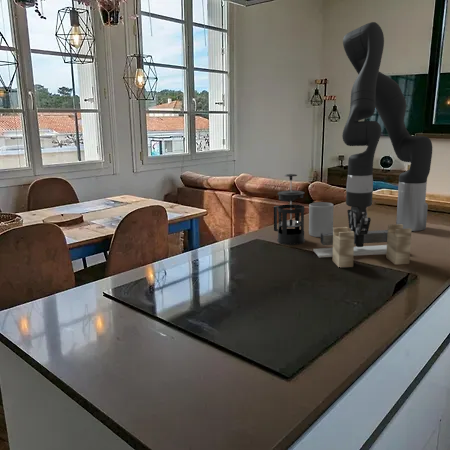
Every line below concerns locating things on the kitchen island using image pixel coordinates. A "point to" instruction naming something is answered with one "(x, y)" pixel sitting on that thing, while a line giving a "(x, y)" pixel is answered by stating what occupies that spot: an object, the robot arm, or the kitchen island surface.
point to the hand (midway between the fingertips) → (357, 244)
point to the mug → (320, 218)
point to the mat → (357, 251)
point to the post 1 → (343, 247)
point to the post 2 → (398, 244)
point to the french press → (291, 234)
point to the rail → (368, 238)
